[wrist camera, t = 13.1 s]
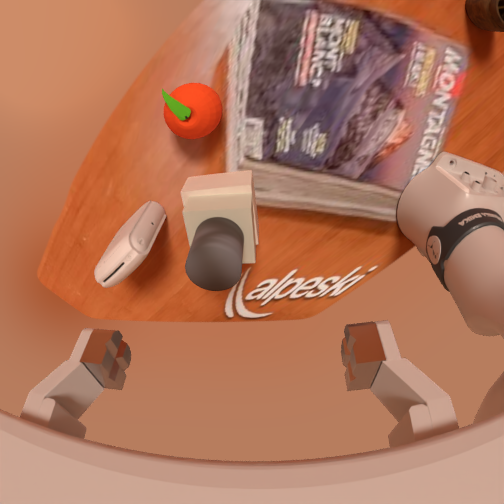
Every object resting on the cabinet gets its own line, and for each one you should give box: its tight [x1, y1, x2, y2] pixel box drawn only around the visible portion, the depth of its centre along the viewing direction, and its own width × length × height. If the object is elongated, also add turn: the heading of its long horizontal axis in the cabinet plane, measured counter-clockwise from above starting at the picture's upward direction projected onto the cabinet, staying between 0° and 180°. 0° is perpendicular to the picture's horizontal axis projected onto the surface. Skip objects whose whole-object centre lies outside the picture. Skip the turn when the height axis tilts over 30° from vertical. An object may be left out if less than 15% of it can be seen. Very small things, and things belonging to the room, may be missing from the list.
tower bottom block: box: [181, 170, 259, 244], centre depth 43 cm, size 9×9×5 cm
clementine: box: [162, 83, 222, 139], centre depth 33 cm, size 8×7×7 cm
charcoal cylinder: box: [185, 217, 244, 291], centre depth 35 cm, size 6×6×6 cm
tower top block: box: [183, 192, 256, 264], centre depth 39 cm, size 8×8×4 cm
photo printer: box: [95, 201, 166, 288], centre depth 42 cm, size 10×4×12 cm, turn 130°
